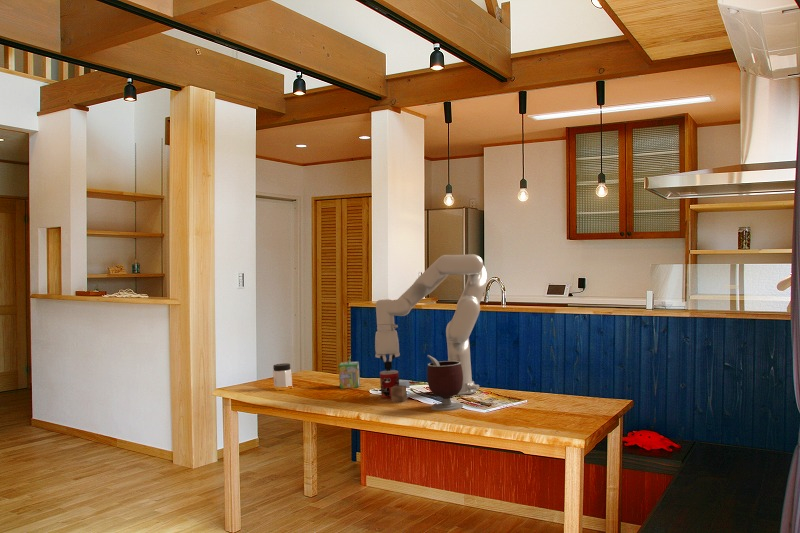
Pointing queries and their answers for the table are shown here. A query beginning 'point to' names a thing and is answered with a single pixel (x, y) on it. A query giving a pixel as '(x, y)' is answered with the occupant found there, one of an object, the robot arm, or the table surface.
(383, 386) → the canned food
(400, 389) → the walnut block
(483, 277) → the robot arm
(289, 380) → the jar
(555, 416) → the table surface
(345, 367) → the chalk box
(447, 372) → the mate gourd
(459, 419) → the table surface
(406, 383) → the slate block
